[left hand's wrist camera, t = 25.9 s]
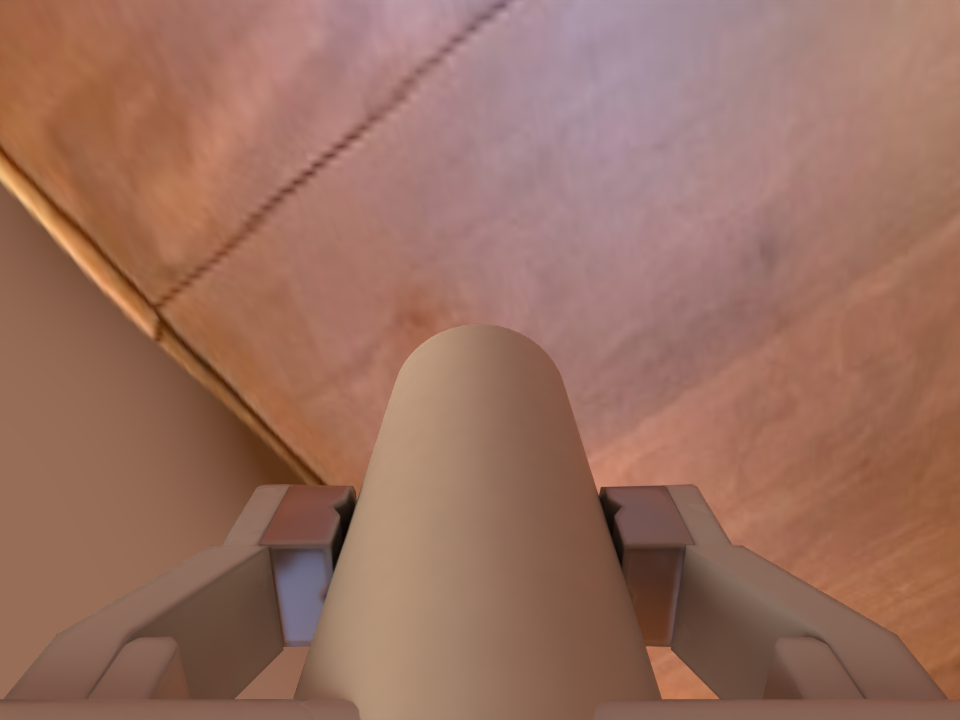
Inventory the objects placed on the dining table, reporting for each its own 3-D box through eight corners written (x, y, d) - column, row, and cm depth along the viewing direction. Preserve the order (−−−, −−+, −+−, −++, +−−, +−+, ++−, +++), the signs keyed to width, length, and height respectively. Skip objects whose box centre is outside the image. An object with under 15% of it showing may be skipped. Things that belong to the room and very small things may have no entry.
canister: (516, 503, 15) (567, 1072, 6) (365, 440, 15) (177, 969, 6) (598, 369, 14) (815, 839, 5) (437, 293, 13) (344, 668, 4)
